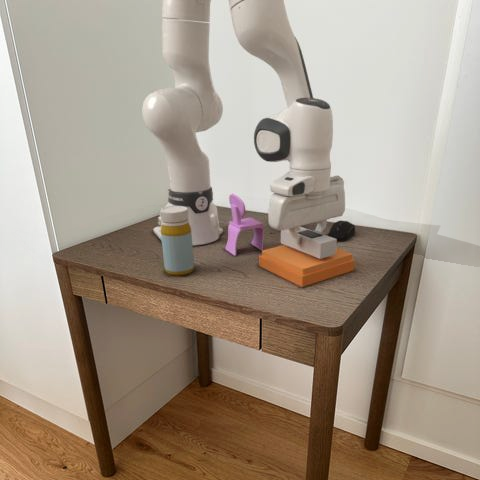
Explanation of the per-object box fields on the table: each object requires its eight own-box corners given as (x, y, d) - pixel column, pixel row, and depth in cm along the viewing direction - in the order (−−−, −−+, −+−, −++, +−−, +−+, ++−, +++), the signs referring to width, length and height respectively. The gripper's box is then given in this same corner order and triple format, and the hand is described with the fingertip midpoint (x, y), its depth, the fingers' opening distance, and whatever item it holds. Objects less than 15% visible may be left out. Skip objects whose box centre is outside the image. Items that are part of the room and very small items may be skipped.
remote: (280, 243, 111) (280, 227, 109) (295, 239, 114) (296, 223, 112) (320, 259, 101) (321, 242, 99) (335, 254, 103) (337, 237, 101)
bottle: (166, 266, 113) (159, 206, 106) (194, 265, 113) (189, 204, 106) (164, 277, 107) (157, 214, 100) (194, 275, 107) (189, 212, 100)
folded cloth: (259, 266, 112) (258, 250, 110) (308, 252, 119) (309, 237, 117) (302, 287, 100) (302, 270, 98) (354, 270, 108) (355, 254, 106)
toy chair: (266, 251, 121) (266, 193, 114) (236, 257, 117) (234, 198, 110) (252, 242, 127) (251, 187, 120) (223, 247, 124) (220, 191, 117)
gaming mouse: (319, 243, 125) (320, 229, 123) (336, 228, 137) (337, 215, 135) (342, 246, 122) (343, 231, 121) (357, 231, 134) (358, 217, 132)
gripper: (334, 172, 107) (330, 229, 114) (263, 184, 97) (264, 247, 104) (354, 176, 103) (349, 235, 109) (282, 189, 93) (281, 254, 99)
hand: (307, 241), depth 106 cm, fingers closed on remote, 5 cm apart
